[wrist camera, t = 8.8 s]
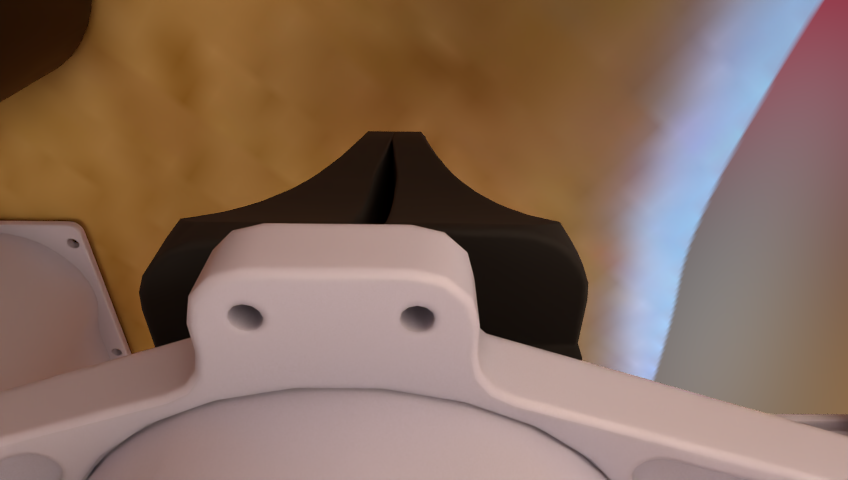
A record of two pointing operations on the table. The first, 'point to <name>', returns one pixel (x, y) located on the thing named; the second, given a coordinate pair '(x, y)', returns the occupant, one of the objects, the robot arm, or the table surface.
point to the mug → (37, 38)
